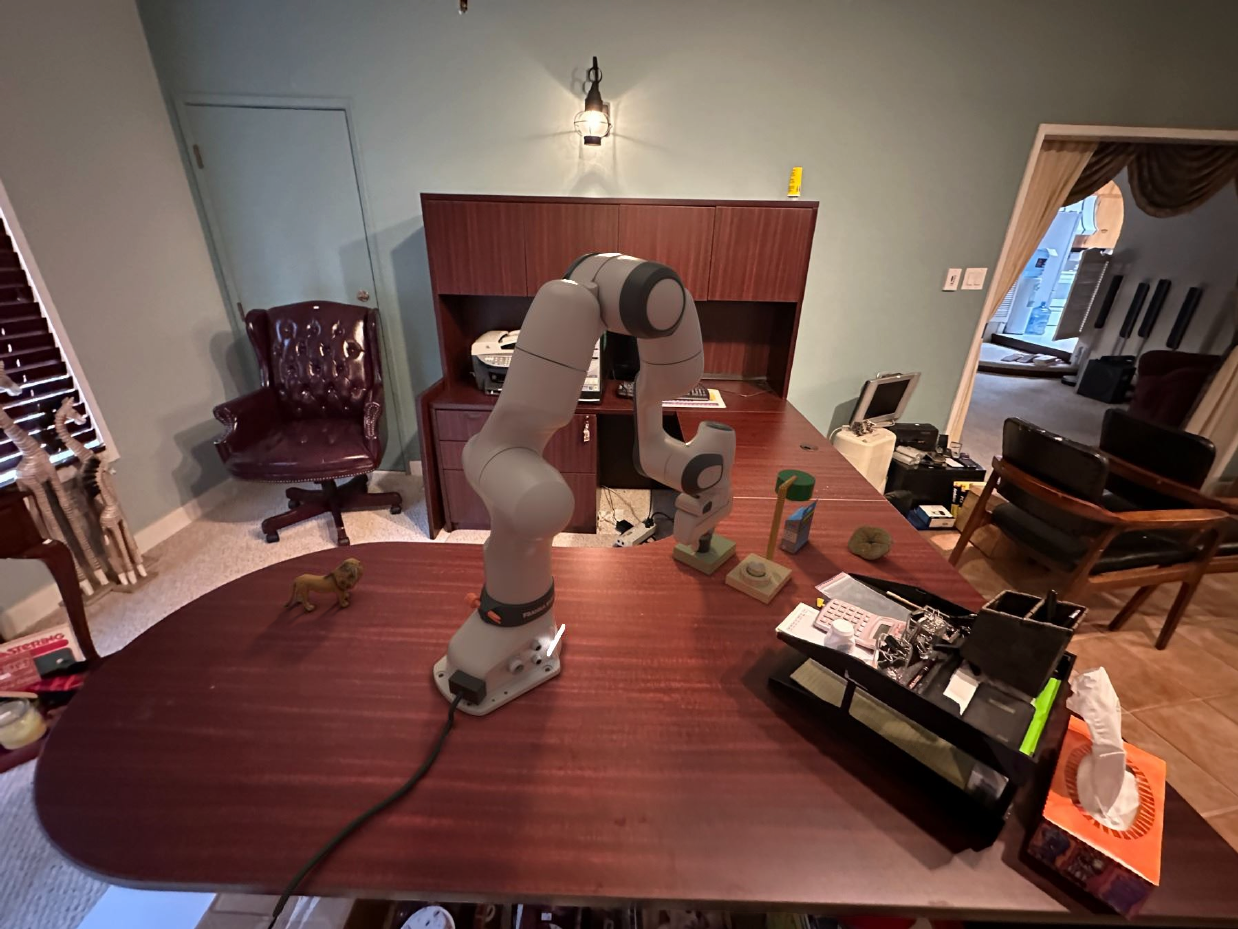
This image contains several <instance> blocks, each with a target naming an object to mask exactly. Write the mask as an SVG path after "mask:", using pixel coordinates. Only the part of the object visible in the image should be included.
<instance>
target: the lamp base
mask: <svg viewBox="0 0 1238 929" xmlns="http://www.w3.org/2000/svg"><path fill="white" fill-rule="evenodd" d="M751 561H758V562H761V563H763V564H764V565H765V573H764V576H763V577H754V576H752V575H750V574H748V572H747V569H748V564H749V562H751ZM792 573H793V570H792V569H790V568H788V567H786V566H783V565H781V564H779V563H776V562H774V561H772V560H767V559H766V558H765V557H762V556H760V555H758V554H756V553H754V552H751V553H749V554H748V555H747V556H746V557H745V558H744V559H742V560H741V561H740V562H739V563H738V564H737V565H736V566H735V567H734V568H733V569H731V570H730V571H729V572H728V573H727V574H726V576H725V581H724V584H726V585H727V586H729V587H732V588H733V589H736V590H737V591H740V592H742V593H744V594H746V595H748V596H750V597H752V598H754V599H756V600H758V601H760V602H763V603H764V604H766V605H768V604H769V603H770V602H771V601H772V599H773V598H774V597H775V596H776V595H777V594H778V593H779V592H780V590H781V589H782V588H783V587H784V586H785V585H786V584H787V583H788V581H789V580H790V579H791V577H792Z"/></svg>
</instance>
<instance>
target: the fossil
mask: <svg viewBox="0 0 1238 929" xmlns="http://www.w3.org/2000/svg"><path fill="white" fill-rule="evenodd" d="M893 544H894V539H893V538H892V535H891V533H890V532H889V531H888V530H887V529H885V528H883V527H880V526H871V525H867V524H866V525H861V526H858V527H857V528H855V529H854V531H853V532H852V534H851V536H850V538H849V540H848V541H847V548H848V550H849V551H850V552H851V553H852V554H855V555H857V556H860V557H861V558H863V559H866V560H877V559H880V558H882V557H884V556H886V555H887V554H888V553H890V552H891V549H892V546H893Z"/></svg>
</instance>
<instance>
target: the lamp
mask: <svg viewBox="0 0 1238 929" xmlns="http://www.w3.org/2000/svg"><path fill="white" fill-rule="evenodd" d="M775 481H776V482H775V485H774V492H775V494H776V495H777V497H776V501H775V507H774V512H773V517H772V521H771V527H770V533H769V535H768V536H769V537H768V542H767V546H766V553H765V557H764V558H765V559H767V560H770V561H772V560H773V559H774V554H775V550H776V545H777V540H778V534H779V530H780V527H781V526H780V525H781V521H782V515H783V511H784V506H785V502H786V500H787V501H789V502H791V503H794V502H801V503H802V502H808V501H810V500H811V499H813V494H814V490H815V486H816V478H815V476H813V475H812V474H810V473H808V472H806V471H804V470H798V469H790V468H789V469H782V470H779V471H778V472H777V476H776V480H775Z"/></svg>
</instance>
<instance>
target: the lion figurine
mask: <svg viewBox="0 0 1238 929" xmlns="http://www.w3.org/2000/svg"><path fill="white" fill-rule="evenodd" d="M364 572H365V571H364V569H363V566H362V563H361V561H360V560H358V559H356V558H353V557H350V558H346V559H345V560H343V562H341V564H340V565H339V566H338V567H336V568H335V569H333V570H331V571H330V572H329V573H328V574H325V575H313V574H311V573H310V574H309V573H305V574H301V575H300V576H298V577H296V578H294V580H293V582H292V585H291V594H290V598H289V601H288V602H286V604H284V607H283V608H289V607H290V606H291V605H292V603H293V601H294V599H295V600H296V602H298V603H302V605H303V607H305V609H306V610H307V611H308V612H311V611H313V610H314V609H315V606H314V605H313V604H310V603H308V602H309V601H308V598H309V594H310V591H313V592H316V593H318V594H323V595H324V594H332V593H334V594H335V595H336V597H337V599H338V602H339V605H340V606H341V607H343V608H347V607H348V606H349V604H350V603H349V601H346V599H348V598H349V597H350V595H349V593H345V592H348V591H350V590H353V589H354V588H355V586H356V584H358V583H359V581H360V580H361V579H362V578H363V575H364Z"/></svg>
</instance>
